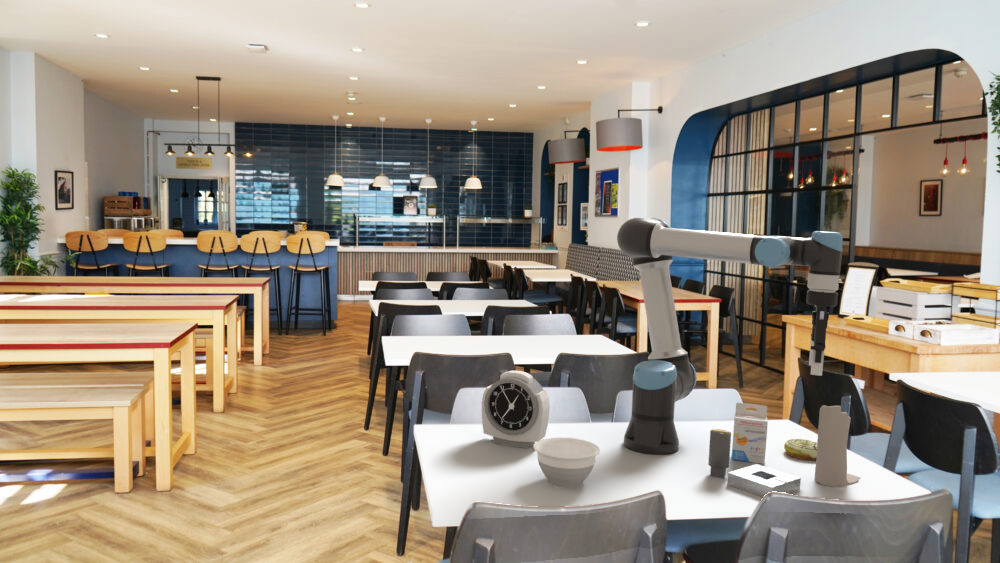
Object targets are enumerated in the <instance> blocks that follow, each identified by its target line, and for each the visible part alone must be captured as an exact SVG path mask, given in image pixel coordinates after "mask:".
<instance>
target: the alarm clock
mask: <svg viewBox="0 0 1000 563" xmlns="http://www.w3.org/2000/svg"><path fill="white" fill-rule="evenodd" d="M499 377H500V378H499V380H497V381H496V382H494V383H492V384H490V385H489V386H486V388H485V390H484V391H483V394H482V397H481V422H482V423H481V424H482V429H483V434H484V435H486V436H487V435H488V436H491V437H492V438H493V439H492V444H496V445H503V446H508V447H515V448H523V449H527V450H528V449H530V448H531V447H532V446H533V447H534V444H535V443H536V442H537V441H540V440H543V439H545V437H546V433H547V429H548V427H549V426H548V424H549V418H550V397H549V395H548V391H547V389H545V390H544V389H543V387H542V385H541V383H540V382H539V381H538V380H536V379H535V378H534V377H533V375H531V374H530V373H528V372H526V371H522V370H521V371H520V370H509V371H505V372H503V373H500V376H499Z"/></svg>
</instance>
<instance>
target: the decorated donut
mask: <svg viewBox="0 0 1000 563" xmlns="http://www.w3.org/2000/svg"><path fill="white" fill-rule="evenodd" d="M783 449H784V450H785V452H786V453H787V455H789V456H790V457H794V458H796V459H800V460H811V461H816V458H817V442H816V441H812V440H809V439H802V438H791V439H788V440H786V441H785V442H784V445H783Z"/></svg>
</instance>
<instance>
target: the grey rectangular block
mask: <svg viewBox="0 0 1000 563" xmlns="http://www.w3.org/2000/svg"><path fill="white" fill-rule="evenodd" d="M731 438H732V433H731V432H730V431H729V430H725V429H717V428H715V429H713V428H712V429H711V430H710V432H709V448H708V463H707V464H708V466H710V473H709V474H710V477H715V478H721V479H725V478H726V474H727V469H729V467H730V458H731V457H730V455H731V441H732V439H731Z"/></svg>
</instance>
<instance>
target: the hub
mask: <svg viewBox="0 0 1000 563" xmlns="http://www.w3.org/2000/svg"><path fill="white" fill-rule="evenodd" d="M801 478H802V477H799V476H797V475H793V474H789V473H786V472H783V471H779V470H777V469H773V468H771V467H768V466H764V465H763V464H760V463H754V464H752V465H748V466H745V467H741V468H739V469H735V470H731V471H728V472H727V480H726V481H727V483H726V484H727V485H728V486H730V487H734V488H735V489H740V490H741V491H744V492H747V493H750V494H753V495H756V496H759V497H761V498H764V497H763V496H764V495H765V494H767V493H768V492H772V491H777V492H786V493H790V494H792V493H795V492H798V491H800V490H801V480H802V479H801Z"/></svg>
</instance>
